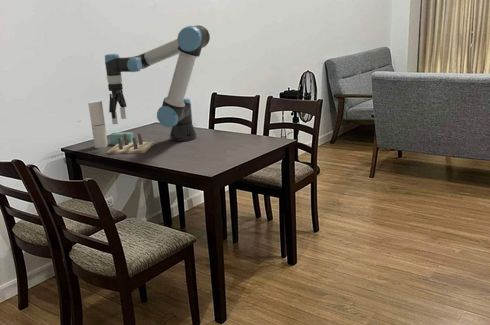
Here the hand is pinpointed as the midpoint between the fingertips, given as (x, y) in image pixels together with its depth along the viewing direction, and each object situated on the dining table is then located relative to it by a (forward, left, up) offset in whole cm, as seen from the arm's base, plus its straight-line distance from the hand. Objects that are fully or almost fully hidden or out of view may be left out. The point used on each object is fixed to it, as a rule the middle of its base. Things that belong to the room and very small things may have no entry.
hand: (119, 121), depth 272 cm
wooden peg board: (-9, +12, -13) cm, 20 cm away
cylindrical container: (+10, +5, -13) cm, 17 cm away
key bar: (0, 0, -13) cm, 13 cm away
